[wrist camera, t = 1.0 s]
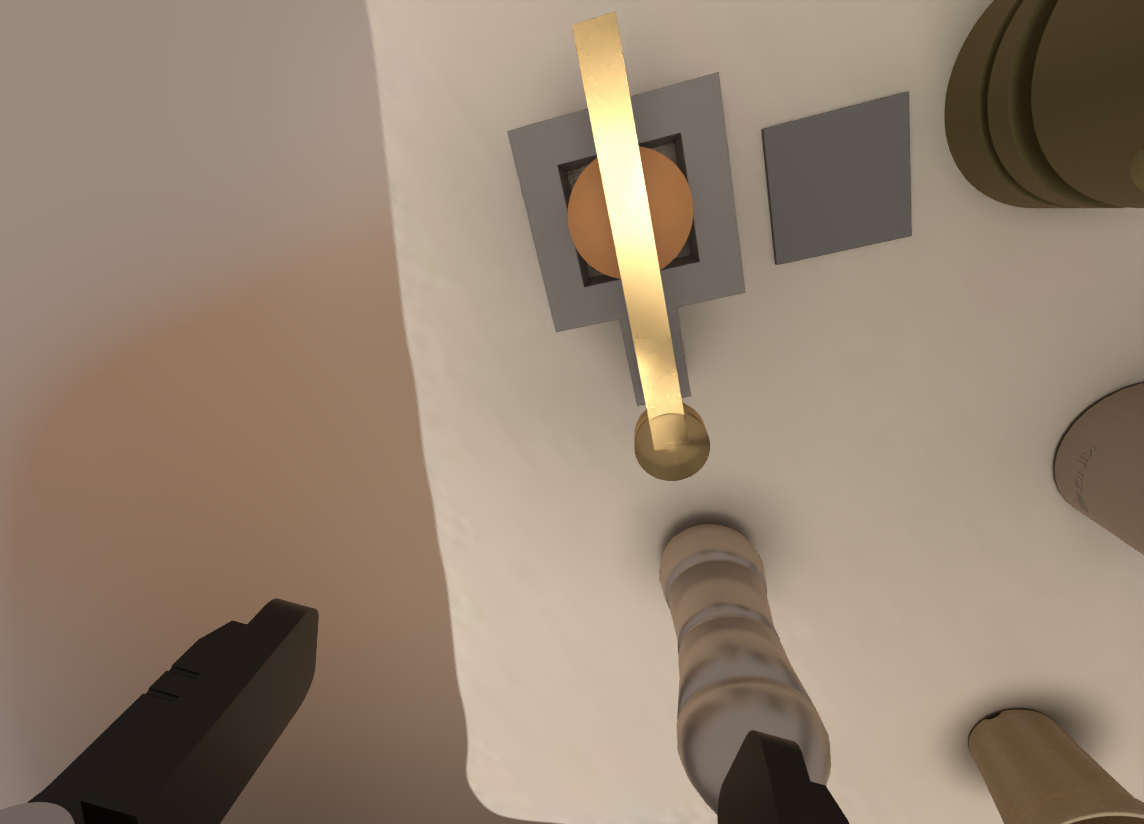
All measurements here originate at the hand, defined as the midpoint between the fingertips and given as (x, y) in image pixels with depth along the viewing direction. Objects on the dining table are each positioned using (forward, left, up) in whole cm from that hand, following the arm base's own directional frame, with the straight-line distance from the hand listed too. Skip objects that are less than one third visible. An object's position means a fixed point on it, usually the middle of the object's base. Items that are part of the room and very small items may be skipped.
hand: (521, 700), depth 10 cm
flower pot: (-24, +35, -26) cm, 50 cm away
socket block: (-3, -5, -25) cm, 26 cm away
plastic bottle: (-4, +15, -26) cm, 30 cm away
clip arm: (-3, -5, -17) cm, 18 cm away
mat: (-14, -7, -25) cm, 30 cm away
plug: (-3, -8, -25) cm, 27 cm away
